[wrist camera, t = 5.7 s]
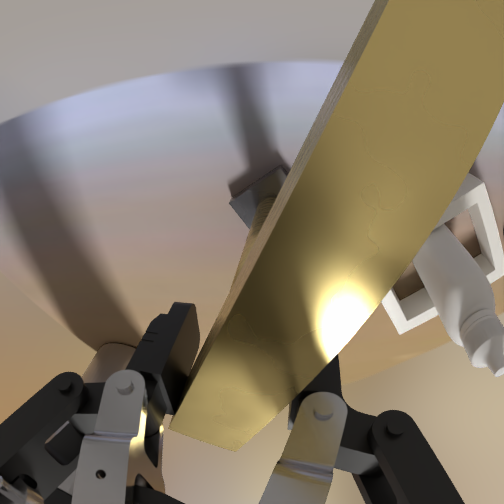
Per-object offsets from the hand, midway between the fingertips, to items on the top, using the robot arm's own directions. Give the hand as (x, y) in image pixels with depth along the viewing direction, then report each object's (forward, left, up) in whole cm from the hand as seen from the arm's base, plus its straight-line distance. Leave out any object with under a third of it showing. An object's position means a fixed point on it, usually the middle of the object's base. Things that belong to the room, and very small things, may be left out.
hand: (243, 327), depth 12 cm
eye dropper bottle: (+9, -9, -11) cm, 17 cm away
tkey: (+6, +3, -10) cm, 12 cm away
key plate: (+1, 0, -11) cm, 11 cm away
